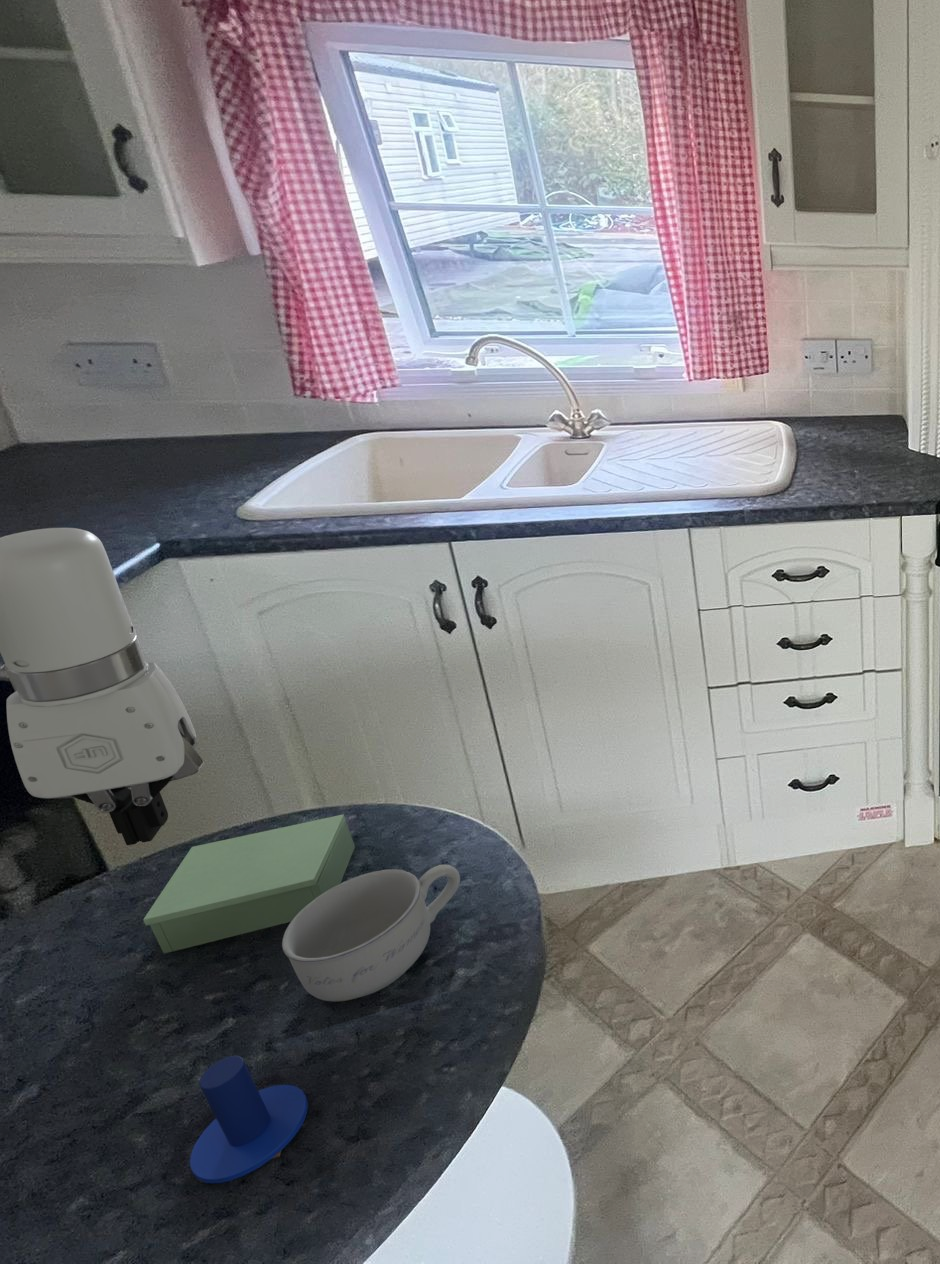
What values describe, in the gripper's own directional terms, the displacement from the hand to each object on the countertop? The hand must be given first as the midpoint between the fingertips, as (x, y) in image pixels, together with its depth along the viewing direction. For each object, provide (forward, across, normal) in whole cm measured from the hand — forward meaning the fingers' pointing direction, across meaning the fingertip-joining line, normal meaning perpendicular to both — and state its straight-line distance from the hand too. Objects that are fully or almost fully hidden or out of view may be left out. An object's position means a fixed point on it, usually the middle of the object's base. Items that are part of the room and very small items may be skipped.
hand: (147, 832), depth 78 cm
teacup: (+15, +18, -8) cm, 25 cm away
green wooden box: (+15, +4, +5) cm, 17 cm away
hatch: (+11, +4, +5) cm, 12 cm away
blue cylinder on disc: (+15, +12, -23) cm, 30 cm away
